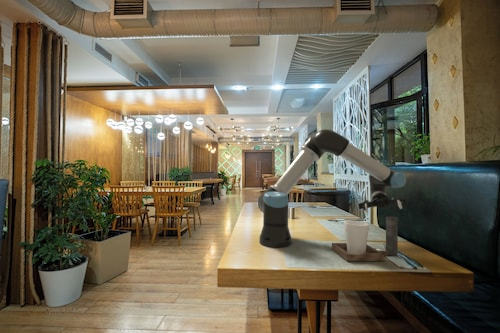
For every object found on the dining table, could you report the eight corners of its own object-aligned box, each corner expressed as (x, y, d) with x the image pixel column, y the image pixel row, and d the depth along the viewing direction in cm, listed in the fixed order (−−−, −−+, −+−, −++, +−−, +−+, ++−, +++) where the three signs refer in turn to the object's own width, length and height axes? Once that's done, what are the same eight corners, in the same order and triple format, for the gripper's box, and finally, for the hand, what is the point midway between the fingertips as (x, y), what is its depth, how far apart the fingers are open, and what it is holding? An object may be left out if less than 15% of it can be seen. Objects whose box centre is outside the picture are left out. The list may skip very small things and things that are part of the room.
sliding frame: (347, 261, 91) (347, 221, 92) (331, 248, 106) (331, 214, 106) (407, 260, 93) (407, 220, 93) (384, 248, 107) (384, 214, 107)
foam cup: (349, 249, 106) (349, 219, 106) (372, 255, 99) (372, 223, 99) (339, 255, 99) (339, 222, 99) (363, 261, 92) (363, 226, 93)
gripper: (408, 203, 122) (417, 213, 103) (355, 209, 133) (354, 218, 113) (405, 189, 123) (414, 195, 103) (353, 195, 133) (351, 202, 114)
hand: (383, 207), depth 108 cm, fingers open, 13 cm apart
